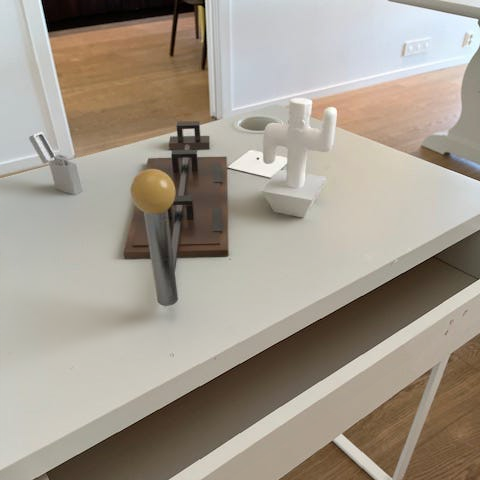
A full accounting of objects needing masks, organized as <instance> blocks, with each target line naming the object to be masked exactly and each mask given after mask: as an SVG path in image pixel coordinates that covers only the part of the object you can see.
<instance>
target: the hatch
mask: <svg viewBox="0 0 480 480" xmlns="http://www.w3.org/2000/svg"><path fill="white" fill-rule="evenodd" d="M188 157H189V161H188V169H187V178H186V186H185V194H184V195H183V196H178V191H179V184H180V177H181V169H182V162H183V158H188ZM147 169H158V170H161V171H163V172H164V173H166V174H167V175H168V176H169V177H170V178H171V179H172V181H173V183H174V186H175V191H176V194H175V199H174V202H173V204H172V206H171V207H170V208H169V209H168V217H169V225H170V234H171V241H172V234H173V227H174V220H175V213H176V205H183V211H182V220H181V228H180V236H179V245H178V253H177V258H205V257H207V258H209V257H228V256H229V211H228V209H229V207H228V156H198V149H194V150H171V155H170V157H148V158H147V161H146V165H145V169H144V170H147ZM123 257H124V259H151V256H150V249H149V242H148V236H147V229H146V223H145V216H144V212H143V211H141V210H140V209H139V208H138V207H137V206H136V205H135V207H134V211H133V215H132V219H131V222H130V226H129V230H128V233H127V237H126V241H125V245H124V249H123Z"/></svg>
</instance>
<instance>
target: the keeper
mask: <svg viewBox="0 0 480 480" xmlns="http://www.w3.org/2000/svg"><path fill="white" fill-rule="evenodd" d="M184 130H194V131H193V132H194V135H185V134H184ZM185 145H189V146H190V150H193V149H194V150H210V149H211V148H210V147H211V137H210V135H202V134H201V121H200V120H191V121H190V120H189V121H176V135H174V136H172V135H171V136H170V137H169V141H168V150H170V151H172V150H184V148H185Z"/></svg>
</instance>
